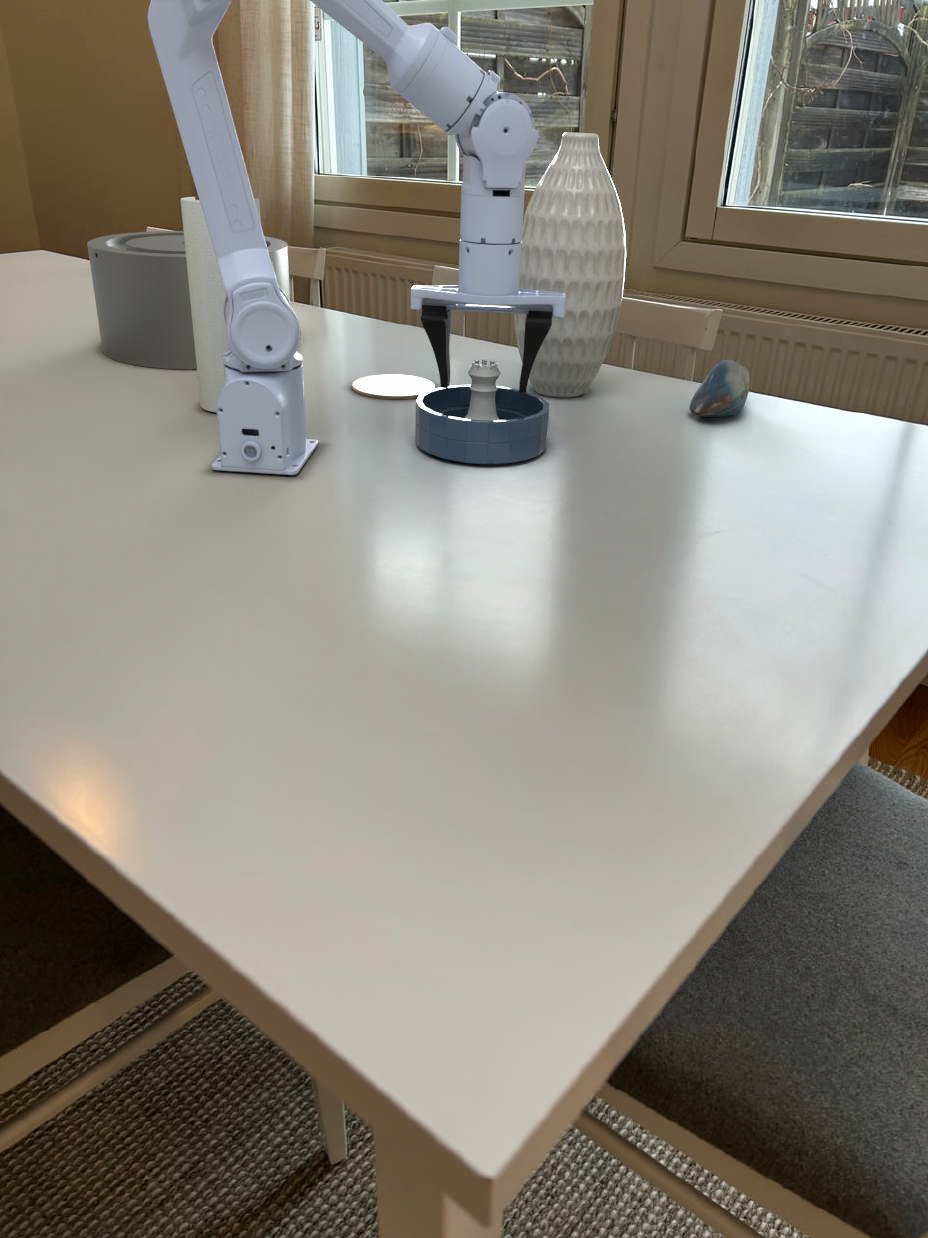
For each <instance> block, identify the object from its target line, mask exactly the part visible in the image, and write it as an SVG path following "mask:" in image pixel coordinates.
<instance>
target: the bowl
mask: <svg viewBox="0 0 928 1238" xmlns="http://www.w3.org/2000/svg"><path fill="white" fill-rule="evenodd" d="M470 386H471V384H459V385H449V386H448V388H441V387H437V388H435V389H433V390H429V391H426V392H425V393H423V394H421V395H419V396H418V398H416V400H415V423H414V424H415V426H414V427H415V429H414V431H415V432H414V434H415V435H414V437H415V438H414V441H415V442H416V445H417V446H418V448H419V449H421V450H422V451H424V452H425V453H427V454H429V455H432V456H435V457H438V458H440V459H443V460H448V461H452V462H455V463H461V464H462V463H463V464H471V465H484V466H485V465H505V464H512V463H513V464H514V463H518V462H522V461H527V460H530V459H532V458H535V457H538V456H540V455H541V454H542V453H544V452H545V451H546V450H547V441H548V428H549V418H550V417H549V415H550V403H549V402H548V401H547V400H546V399H545V398H544V397H542V396H539V395H538V394H535V393H533V392H530V391H526V393H522V392H519V388H514V387H513V388H512V387H506V386H500V385H496V386H497V388H498V389H497V391H496V392H495V404H496V413H497V417H498V418H499V420H490V421H488V420H472V419H465V416H467V414H468V411H469V406H470V401H471V390H470Z"/></svg>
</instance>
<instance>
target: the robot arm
mask: <svg viewBox="0 0 928 1238" xmlns="http://www.w3.org/2000/svg"><path fill="white" fill-rule="evenodd" d="M232 1H233V0H150V2H149V6H148V11H147V23H148V30H149V33H150V37H151V40H152V43H153V47H154V51H155V54H156V57H157V60H158V61H157V62H158V64H159V67H160V70H161V75H162V78H163V81H164V85H165V87H166V91H167V95H168V98H169V101H170V104H171V107H172V112H173V115H174V118H175V123H176V125H177V129H178V132H179V135H180V138H181V142H182V145H183V149H184V152H185V155H186V156H185V157H186V159H187V162H188V166H189V169H190V172H191V176H192V179H193V183H194V186H195V189H196V190H195V191H196V193H197V196H198V197H199V200H200V204H201V207H202V210H203V214H204V217H205V221H206V224H207V227H208V231H209V234H210V238H211V241H212V244H213V248H214V251H215V255H216V258H217V262H218V265H219V269H220V272H221V276H222V280H223V283H224V287H225V291H226V297H225V303H224V319H225V322H226V325H227V337H228V341H229V344H230V348H229V349H228V351H227V352H225V353H224V354H223V363H224V364H223V367H224V379H225V385H224V387H223V389H222V391H221V392H220V394H219V396H218V400H217V412H216V417H217V418H216V419H217V420H216V421H217V430H218V440H219V441H218V442H219V453H220V455H219V456H218V457H217V458H216V459H215V460H214V461H213V462H212V463H211V466H210V467H211V469H212V470H214V471H222V472H237V473H238V472H239V473H254V474H269V475H271V474H272V475H282V476H283V475H284V476H287V475H288V476H295V475H297V474H298V473H299V472H300V471H301V469H303V466H305V463H306V462H307V461H308V459H309V458H310V456H311V455H312V454H313V452H314V451H315V449H316V448H317V447H318V445H319V440H318V439H317V438H307V424H306V423H307V422H306V402H305V401H306V399H305V397H306V396H305V379H304V378H305V376H304V375H305V374H304V357H303V355H302V354H301V353H299V352H298V349H299V347H300V345H301V339H302V327H301V323H300V320H299V318H298V316H297V313H296V312H295V311H294V309H293V308H292V306H291V301H290V302H289V299H288V297H287V296H286V294H285V293H284V291H283V290H282V289H281V288H280V287H279V286H278V283H277V280H276V276H275V273H274V269H273V266H272V263H271V259H270V256H269V253H268V249H267V246H266V242H265V238H264V236H265V235H264V232H263V227H262V222H261V223H260V219H261V218H260V219H259V216H258V212H257V208H256V204H255V201H254V199H255V197H254V194H253V193H254V192H253V189H252V186H251V182H250V178H249V174H248V171H247V167H246V163H245V159H244V156H243V152H242V148H241V145H240V141H239V137H238V132H237V130H236V125H235V122H234V119H233V114H232V111H231V110H232V109H231V107H230V103H229V100H228V99H229V98H228V96H227V91H226V89H225V85H224V80H223V77H222V73H221V69H220V65H219V62H218V59H217V55H216V50H215V47H214V44H213V36H214V34H215V33H216V31H217V30H218V27H219V25H220V23H221V21H222V20H223V18H224V16H225V14H226V12H227V11H228V10H229V7H230V5H231V3H232ZM309 1H310V2H312V4H314V5H315V6H316V7H318V8H319V10H321V11H323V12H324V13H325V14H326V15H328V17H330V18H331V19H332V20H333V21H335V22H336V23H338V24H339V25H340V26H342V28H344V29H345V30H346V31H348V32H349V33H350V34H351V35H353V36H354V37H355V38H356V39H357V40H359V41H360V42H362V44H364V45H365V46H366V47H368V48H369V49H370V50H371V51H373V52H374V53H375V54H377V56H379V57H380V58H382V59H383V60H384V62H385V66H386V70H387V75H388V83H389V86H390V87H391V88H392V89H393V90H394V91H395V92H396V93H398V95H399V96H401V97H402V98H403V99H404V100H406V102H408V103H409V104H411V105H412V106H413V107H414V108H416V110H418V112H420V113H421V114H423V115H424V116H425V117H426V118H427V119H428V120H429V121H431V122H432V123H433V124H435V125H436V126H437V127H438V128H439V129H440V130H441V131H443V132H444V133H446V135H447V136H454V140H455V143H456V146H457V148H458V150H459V152H460V153H461V154H462V155H463V158H462V160H463V161H462V183H461V185H460V186H461V187H460V188H461V189H460V217H459V218H460V219H459V220H460V221H459V222H460V223H459V225H460V227H459V244H458V245H459V247H458V249H459V251H458V278H457V279H458V280H457V281H458V283H457V284H456V285H455V284H454V285H452V284H451V285H421V284H420V285H419V284H413V286H412V287H411V288H410V310H411V311H412V310H413V311H414V310H415V311H421V316H420V322H421V325H422V327H423V329H424V332H425V334H426V336H427V338H428V340H429V343H430V345H431V348H432V351H433V354H434V358H435V361H436V365H437V370H438V374H439V380H440V381H439V383H440V388H448V386H450V384H451V358H450V357H451V356H450V344H451V343H450V341H451V340H450V339H451V323H452V311H459V312H460V311H461V312H479V313H480V312H481V313H497V314H498V313H499V314H500V313H501V314H513V313H516V314H526V320H525V336H524V353H523V363H522V362H521V363H522V364H521V370H520V376H519V384H518V386H519V388H518V390H519V392H522V393H526V392H527V388H528V382H529V376H530V372H531V369H532V366H533V363H534V361H535V358H536V356H537V354H538V351H539V349H540V347H541V345H542V343H543V341H544V339H545V337H546V336H547V334H548V332H549V330H550V328H551V325H552V316H553V317H564V310H565V298H566V296H565V293H558V292H547V291H538V290H529V289H520V288H519V277H520V261H521V244H522V242H521V241H522V228H523V218H524V210H525V192H526V187H525V179H526V164H527V160H528V159H529V158H530V157H531V155H532V154H533V152H534V150H535V149H536V146H537V143H538V139H539V130H538V129H536V124H535V118H534V117H533V116H532V113H533V112H532V110H531V108H530V106H529V105H528V103H527V102H526V101H525V100H524V99H523V98H522V97H520V96H518V95H516V94H515V93H511V92H506V91H503V92H502V91H501V92H500V91H498V88H499V86H498V84H499V83H500V81H501V76H499V75H498V74H497V73H496V72H495V71H494V70H488V71H487V72H486V71H485V70H483V69H482V68H481V66H479V65H478V64H477V63H476V62H475V61H474V60H472V59H471V58H470V57H469V56H468V55H467V54H466V53H465V52H464V51H463V50H461V49H460V48H459V47H458V46H457V45H456V44H455V43H456V41H457V40H458V35H457V34H456V33H455V32H454V31H453V30H452V29H451V28H450V27H448V26H443V27H441V28H440V29H438V28H437V27H436V26H435V25H434V24H433V23H432V22H424V23H419V24H418V23H417V24H413V25H410V24H407V22H405V20H403V18H402V17H400V15H398V14H397V13H396V12H395V11H394V10H393V9H392V8H391V7H390V6H389V5H387V3H386V2H384V0H309Z"/></svg>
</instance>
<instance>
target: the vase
mask: <svg viewBox="0 0 928 1238" xmlns="http://www.w3.org/2000/svg"><path fill="white" fill-rule="evenodd" d="M599 140H600V139H599V135H598V134H597V133H593V132H591V133H590V132H571V131H569V132H567V131H566V132H563V134H562V137H561V142H560V146H559V149H558V151H557V152H556V154H555V156H554V157H553V159H552V161H551V163H549V165H548V167H547V168H546V170H545V171H544V173H543V175H542V176H541V178H540V180H539V181H538V183H537V185H536V187H535V189H534V191H533V193H532V195H531V196H530V200H529V201H528V204H527V207H526V210H525V212H524V214H523V228H522V241H521V242H522V244H521V261H520V277H519V288H520V289H529V290H538V291H547V292H558V293H565V296H566V298H565V310H564V317H553V316H552V325H551V328H550V330H549V332H548V334H547V336H546V337H545V339H544V341H543V343H542V345H541V347H540V349H539V351H538V354H537V356H536V358H535V361H534V363H533V366H532V369H531V372H530V376H529V379H528V381H529V383H530V385H531V386H532V388H533V390H534V391H535V392H536V393H537V394H539V395H542V396H545V397H551V398H563V399H564V398H566V399H567V398H576V397H579V396H582V395H583V394H584V393H585V392H586V390H587V389H588V388H589V386H590V385H591V383H592V382H593V380H594V379H595V377H596V376H597V375H598V373H599V372H600V370H601V368H602V365H603V363H604V361H605V359H606V357H607V355H608V352H609V350H610V347H611V345H612V341H613V340H614V336H615V332H616V328H617V324H618V322H619V321H618V320H619V317H620V312H621V306H622V300H623V294H624V285H625V284H624V283H625V274H626V273H625V272H626V258H627V248H626V244H627V243H626V230H625V223H624V216H623V212H622V206H621V202H620V199H619V195H618V193H617V190H616V187H615V185H614V182H613V180H612V177H611V174H610V173H609V170H608V169H607V166H606V164H605V161H604V159H603V157H602V154H601V151H600V145H599V143H600V142H599ZM512 317H513V329H514V330H513V331H514V335H515V340H516V345H517V350H518V353H519V357H520V360H521V363H523V353H524V336H525V320H526V314H516V313H512Z"/></svg>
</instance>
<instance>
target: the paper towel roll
mask: <svg viewBox="0 0 928 1238" xmlns="http://www.w3.org/2000/svg"><path fill="white" fill-rule="evenodd" d="M254 201H255V204H256V208H257V212H258V216H259V219H260V223H261V224H262V221H261V220H262V219H261V206H260V205H261V204H260V197H259V198H258V197H257V198H254ZM180 210H181V218H182V231H184V241H185V251H186V261H187V271H188V282H189V292H190V302H191V312H192V322H193V333H194V343H195V353H196V363H197V369H196V372H197V382H198V393H199V403H200V407H201V408H202V409H203V410H204V411H208V412H212V413H217V400H218V396H219V394H220V392H221V391H222V389H223V387H224V385H225V379H224V367H223V364H224V363H223V354H224V353H225V352H227V351H228V349H229V348H230V344H229V341H228V337H227V325H226V322H225V319H224V303H225V297H226V291H225V287H224V283H223V280H222V276H221V272H220V269H219V265H218V262H217V258H216V255H215V251H214V248H213V244H212V241H211V238H210V234H209V231H208V227H207V224H206V221H205V217H204V214H203V210H202V207H201V204H200V200H199V197H198V195H195V196H186V197H185V196H184V197H181V198H180Z"/></svg>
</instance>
